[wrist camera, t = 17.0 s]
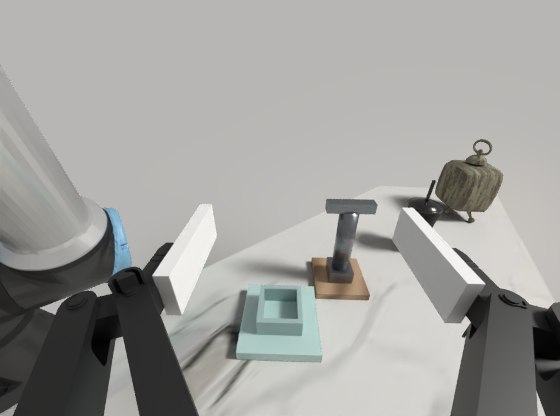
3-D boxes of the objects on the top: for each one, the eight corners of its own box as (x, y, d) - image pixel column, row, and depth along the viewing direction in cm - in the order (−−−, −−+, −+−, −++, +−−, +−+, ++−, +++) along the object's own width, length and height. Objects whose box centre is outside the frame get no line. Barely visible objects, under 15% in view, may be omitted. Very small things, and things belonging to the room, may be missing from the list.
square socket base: (236, 359, 38) (233, 340, 36) (249, 291, 50) (247, 272, 48) (321, 362, 38) (324, 343, 35) (313, 292, 50) (315, 274, 47)
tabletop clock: (480, 225, 73) (521, 147, 60) (450, 224, 73) (486, 146, 61) (452, 203, 85) (482, 134, 73) (427, 203, 86) (453, 134, 73)
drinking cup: (393, 237, 67) (413, 172, 57) (422, 242, 65) (448, 176, 55) (395, 253, 61) (418, 184, 51) (428, 260, 59) (458, 189, 49)
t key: (319, 282, 50) (329, 208, 41) (317, 266, 55) (325, 195, 45) (361, 283, 50) (380, 209, 41) (355, 267, 55) (371, 196, 45)
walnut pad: (316, 298, 49) (316, 293, 48) (311, 262, 58) (311, 257, 58) (368, 300, 48) (369, 295, 48) (355, 263, 58) (356, 258, 57)
